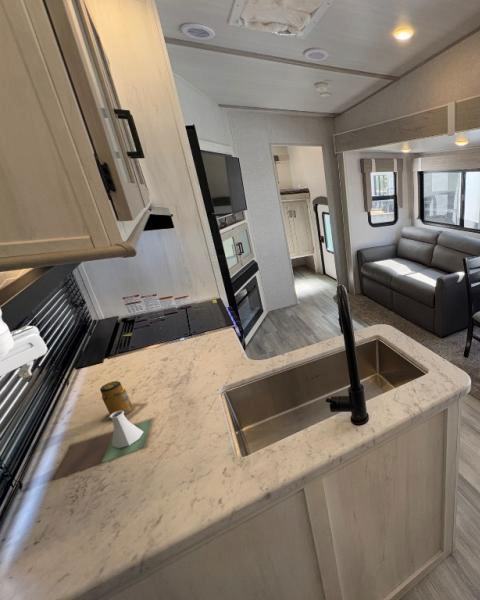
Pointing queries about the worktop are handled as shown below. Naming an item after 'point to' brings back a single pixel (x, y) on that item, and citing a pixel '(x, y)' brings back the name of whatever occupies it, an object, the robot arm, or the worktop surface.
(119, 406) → the condiment
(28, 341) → the robot arm
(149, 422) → the sorting board
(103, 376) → the worktop surface
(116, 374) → the worktop surface
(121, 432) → the flask
